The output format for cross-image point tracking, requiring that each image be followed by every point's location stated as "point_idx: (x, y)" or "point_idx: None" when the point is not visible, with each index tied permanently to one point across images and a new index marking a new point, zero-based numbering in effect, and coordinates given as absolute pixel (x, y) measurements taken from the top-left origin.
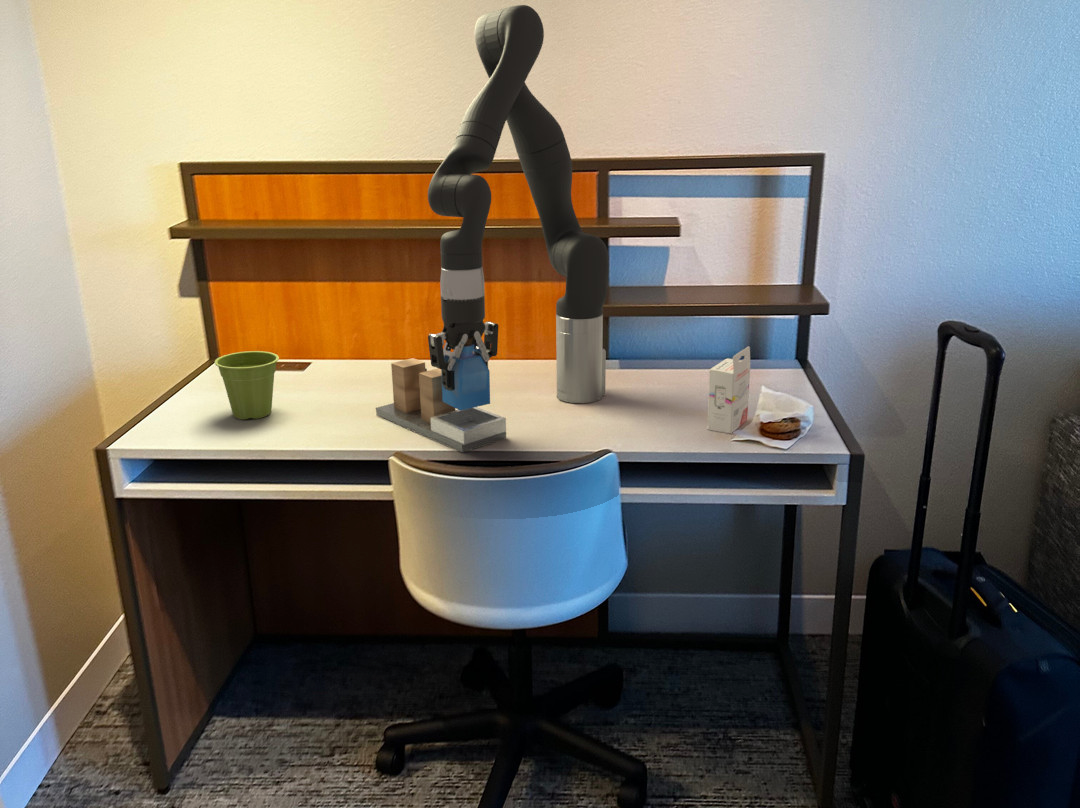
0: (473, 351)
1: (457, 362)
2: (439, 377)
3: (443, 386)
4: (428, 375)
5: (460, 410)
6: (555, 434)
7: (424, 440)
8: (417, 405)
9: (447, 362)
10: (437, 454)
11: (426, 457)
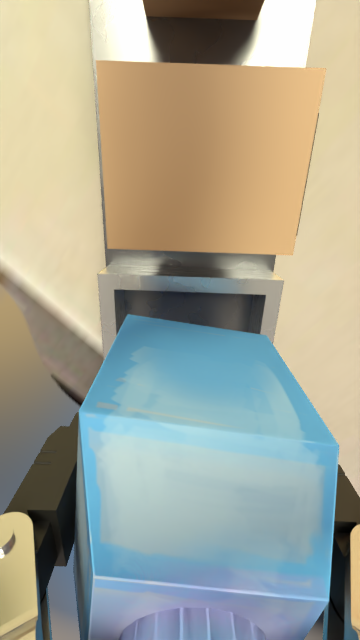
0: (346, 630)
1: (82, 630)
2: (170, 249)
3: (59, 430)
4: (119, 183)
5: (218, 290)
6: (334, 437)
7: (92, 256)
8: (207, 6)
9: (37, 570)
10: (68, 351)
11: (38, 348)
